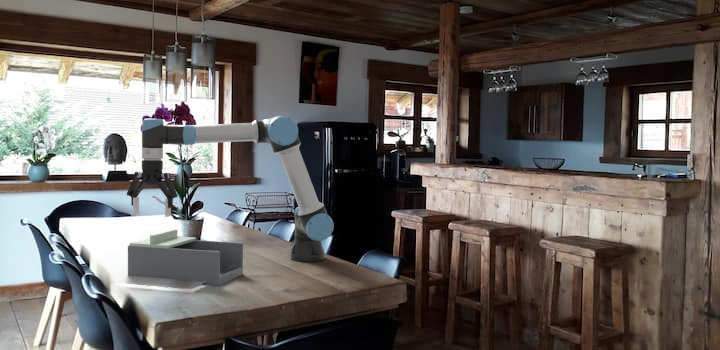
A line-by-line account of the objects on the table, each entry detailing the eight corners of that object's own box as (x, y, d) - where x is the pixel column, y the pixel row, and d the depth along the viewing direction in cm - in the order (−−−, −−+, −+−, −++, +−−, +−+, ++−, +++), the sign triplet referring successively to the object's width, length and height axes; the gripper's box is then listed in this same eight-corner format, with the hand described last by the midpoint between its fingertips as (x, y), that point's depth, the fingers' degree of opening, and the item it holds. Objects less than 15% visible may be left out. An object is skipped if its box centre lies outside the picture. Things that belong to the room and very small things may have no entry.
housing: (242, 274, 227) (243, 243, 226) (218, 285, 208) (218, 251, 207) (158, 267, 235) (158, 237, 235) (127, 278, 216) (127, 245, 216)
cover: (196, 240, 231) (196, 230, 231) (168, 248, 212) (168, 237, 212) (160, 237, 235) (160, 227, 234) (129, 245, 216) (129, 235, 215)
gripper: (117, 158, 222) (116, 214, 223) (176, 160, 216) (176, 218, 217) (129, 158, 229) (129, 212, 230) (187, 160, 223) (186, 216, 224)
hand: (151, 215), depth 224 cm, fingers open, 13 cm apart
